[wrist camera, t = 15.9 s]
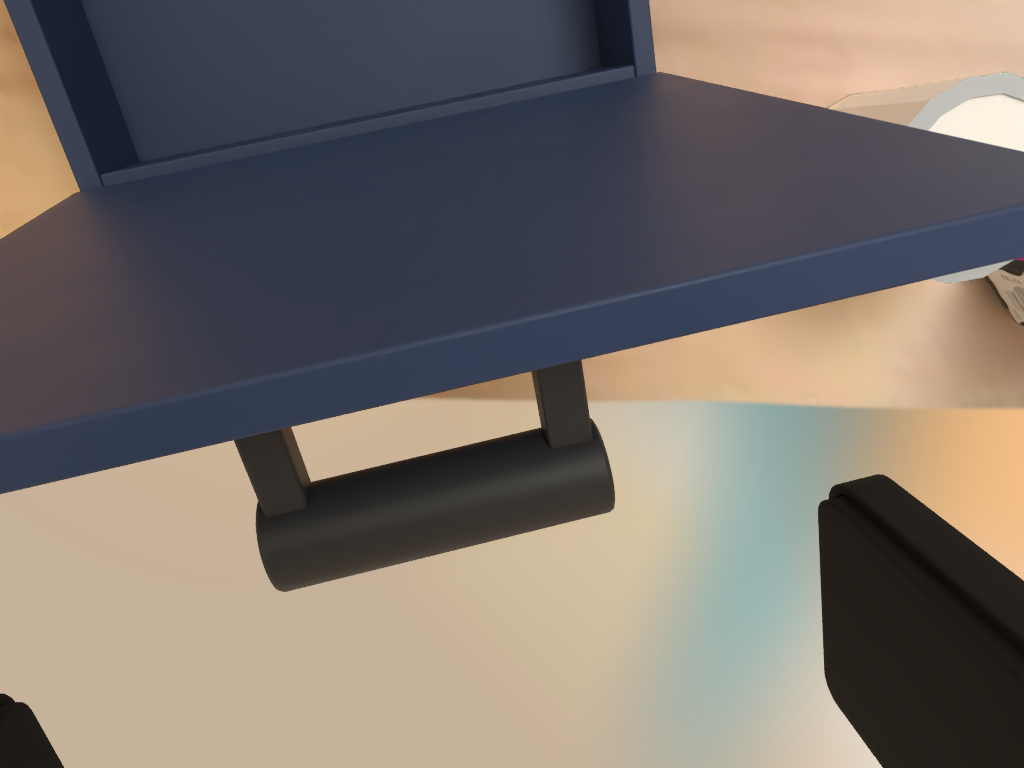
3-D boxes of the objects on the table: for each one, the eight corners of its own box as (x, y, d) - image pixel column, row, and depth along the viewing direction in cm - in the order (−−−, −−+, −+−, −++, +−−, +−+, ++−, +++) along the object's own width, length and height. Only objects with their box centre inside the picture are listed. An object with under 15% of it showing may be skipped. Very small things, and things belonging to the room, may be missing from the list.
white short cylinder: (749, 204, 32) (842, 234, 25) (841, 42, 30) (966, 30, 23) (873, 271, 33) (989, 315, 27) (966, 123, 32) (1113, 133, 25)
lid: (-512, 552, 8) (-223, 828, 10) (1147, 176, 9) (1078, 496, 11) (74, 192, 23) (136, 333, 25) (661, 71, 24) (672, 216, 26)
